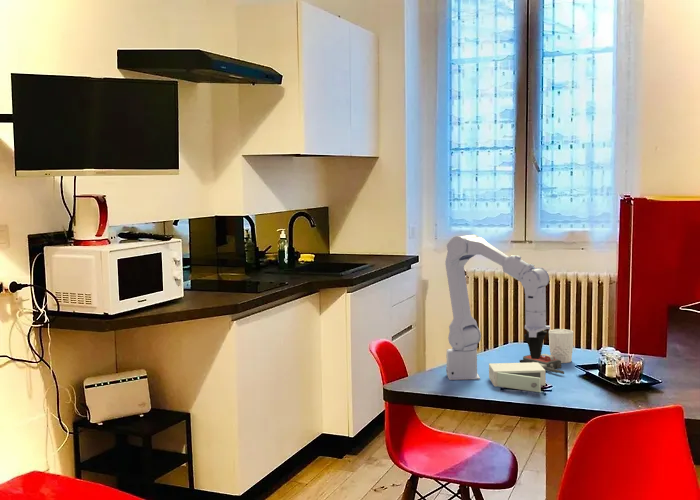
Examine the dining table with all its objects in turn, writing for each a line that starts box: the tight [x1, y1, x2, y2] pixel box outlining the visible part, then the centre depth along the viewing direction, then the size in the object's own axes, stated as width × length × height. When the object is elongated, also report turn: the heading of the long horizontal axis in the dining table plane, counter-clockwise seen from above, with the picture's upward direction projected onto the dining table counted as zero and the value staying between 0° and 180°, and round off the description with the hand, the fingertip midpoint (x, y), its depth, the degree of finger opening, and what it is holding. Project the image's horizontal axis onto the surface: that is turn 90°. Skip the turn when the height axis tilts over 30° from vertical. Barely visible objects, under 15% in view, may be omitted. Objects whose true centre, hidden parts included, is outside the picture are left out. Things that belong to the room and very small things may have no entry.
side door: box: [496, 372, 542, 393], centre depth 219 cm, size 13×2×4 cm, turn 53°
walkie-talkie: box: [519, 353, 565, 375], centre depth 243 cm, size 9×4×20 cm
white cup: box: [548, 328, 574, 364], centre depth 253 cm, size 8×8×10 cm
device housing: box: [488, 362, 547, 387], centre depth 229 cm, size 15×10×4 cm
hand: (536, 357), depth 219 cm, fingers open, 3 cm apart
